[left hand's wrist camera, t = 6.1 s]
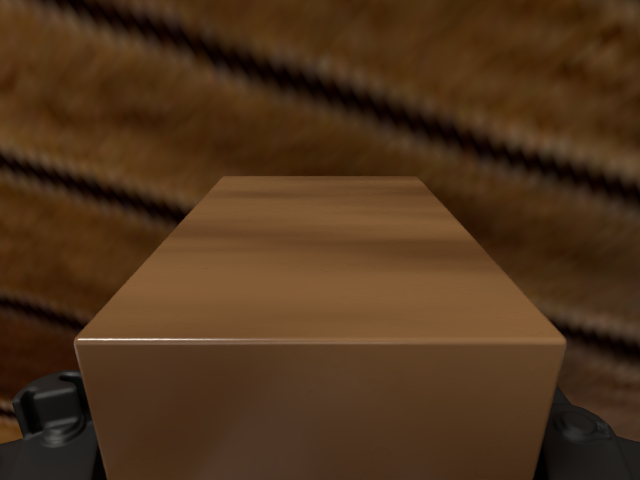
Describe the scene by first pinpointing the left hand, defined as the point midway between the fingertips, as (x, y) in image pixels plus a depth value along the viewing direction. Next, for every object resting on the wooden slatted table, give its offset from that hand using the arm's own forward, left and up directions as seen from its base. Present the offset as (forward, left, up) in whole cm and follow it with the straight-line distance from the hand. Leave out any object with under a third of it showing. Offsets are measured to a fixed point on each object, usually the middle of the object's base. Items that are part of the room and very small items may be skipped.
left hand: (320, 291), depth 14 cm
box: (-3, +10, -1) cm, 11 cm away
